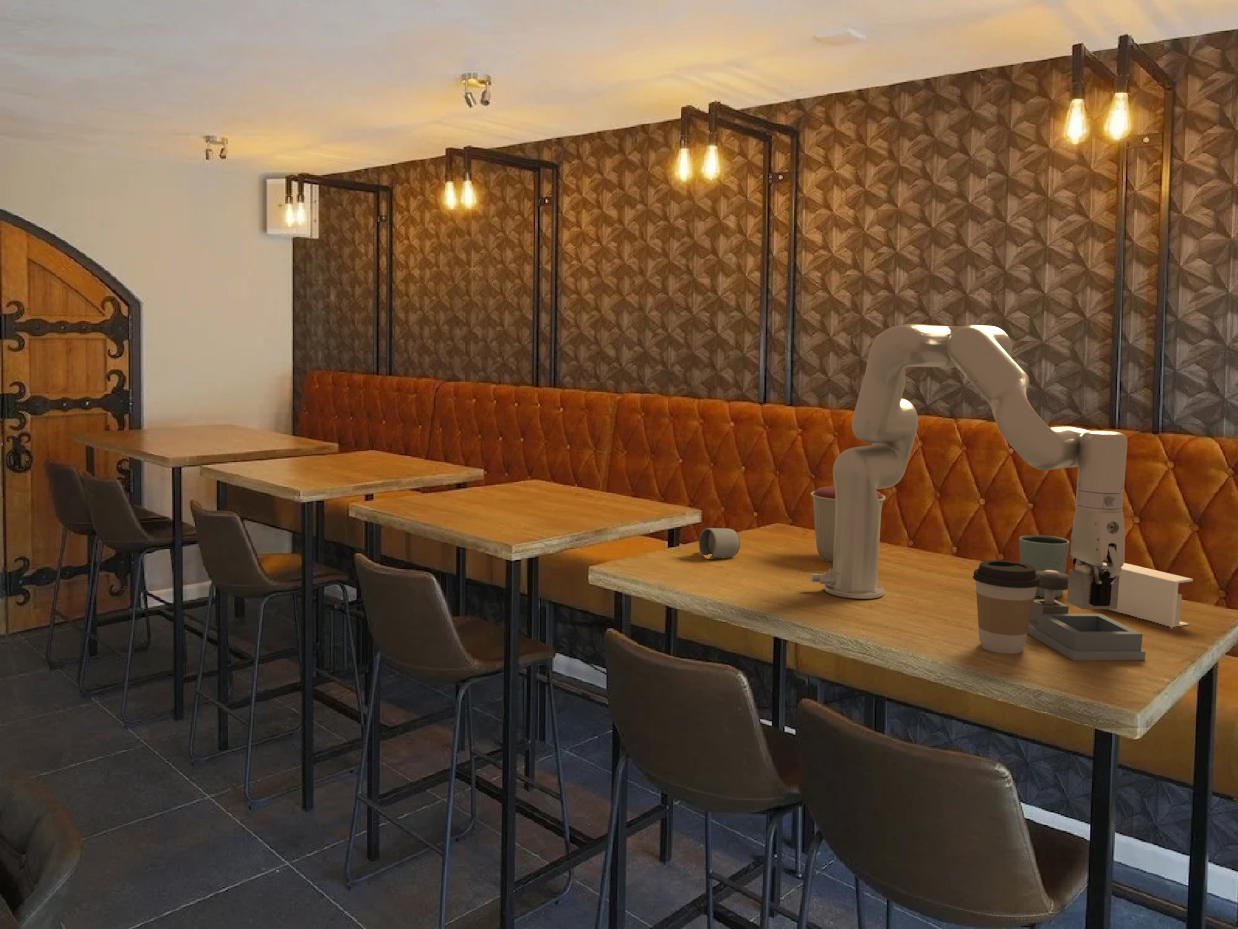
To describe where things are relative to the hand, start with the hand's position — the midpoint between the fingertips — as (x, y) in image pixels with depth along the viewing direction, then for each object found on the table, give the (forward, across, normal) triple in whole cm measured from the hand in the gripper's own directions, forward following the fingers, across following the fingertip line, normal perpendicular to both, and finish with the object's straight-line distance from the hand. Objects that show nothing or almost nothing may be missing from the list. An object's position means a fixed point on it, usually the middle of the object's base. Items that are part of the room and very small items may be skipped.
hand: (1091, 600), depth 180 cm
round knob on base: (+4, +11, +2) cm, 11 cm away
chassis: (+9, +4, 0) cm, 10 cm away
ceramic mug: (+9, +76, +54) cm, 94 cm away
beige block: (+1, 0, 0) cm, 1 cm away
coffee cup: (+9, 0, +16) cm, 18 cm away
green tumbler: (+9, +40, -12) cm, 43 cm away
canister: (+9, +72, +22) cm, 76 cm away
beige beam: (+9, +23, -23) cm, 33 cm away
